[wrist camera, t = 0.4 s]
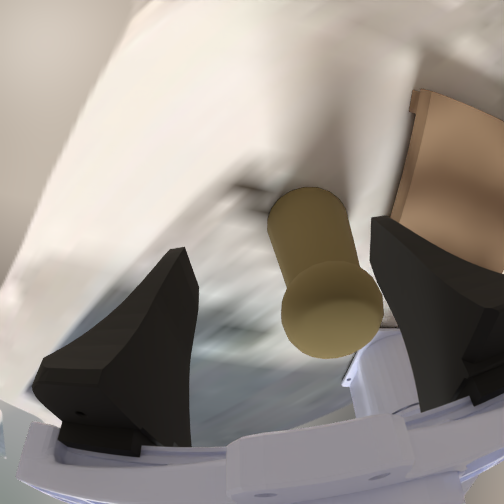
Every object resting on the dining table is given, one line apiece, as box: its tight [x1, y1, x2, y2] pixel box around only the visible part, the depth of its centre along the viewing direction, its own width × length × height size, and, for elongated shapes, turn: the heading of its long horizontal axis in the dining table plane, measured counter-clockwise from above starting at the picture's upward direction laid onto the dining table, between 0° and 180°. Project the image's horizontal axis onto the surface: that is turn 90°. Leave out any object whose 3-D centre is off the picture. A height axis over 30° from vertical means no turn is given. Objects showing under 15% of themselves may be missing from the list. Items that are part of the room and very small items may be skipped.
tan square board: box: [390, 89, 504, 274], centre depth 20 cm, size 13×13×3 cm
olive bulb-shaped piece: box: [267, 187, 384, 359], centre depth 19 cm, size 6×6×11 cm
